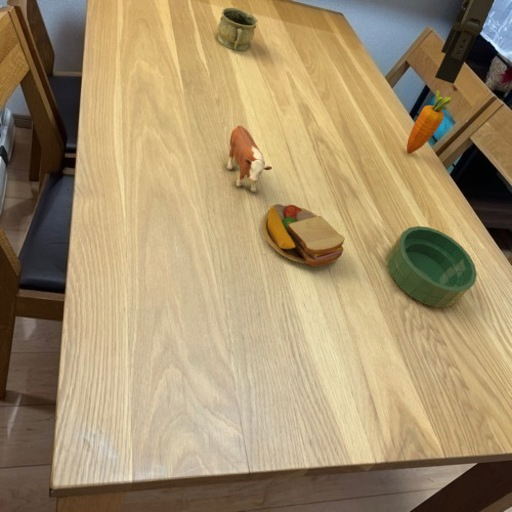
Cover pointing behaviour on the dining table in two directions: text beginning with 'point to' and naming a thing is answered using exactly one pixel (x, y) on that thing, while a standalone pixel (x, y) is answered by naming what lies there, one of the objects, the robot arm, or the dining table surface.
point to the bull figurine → (246, 156)
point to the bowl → (431, 266)
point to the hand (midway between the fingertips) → (446, 66)
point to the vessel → (236, 28)
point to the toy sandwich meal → (301, 235)
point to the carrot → (427, 123)
